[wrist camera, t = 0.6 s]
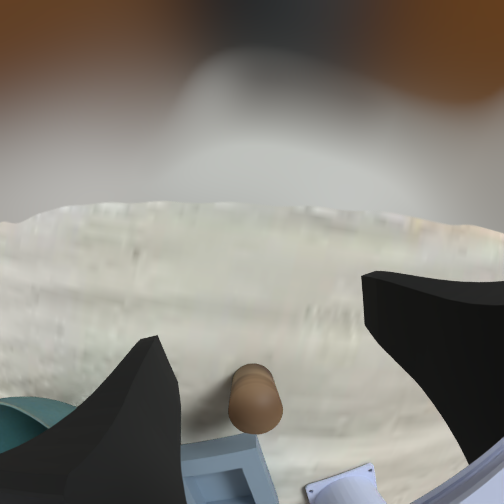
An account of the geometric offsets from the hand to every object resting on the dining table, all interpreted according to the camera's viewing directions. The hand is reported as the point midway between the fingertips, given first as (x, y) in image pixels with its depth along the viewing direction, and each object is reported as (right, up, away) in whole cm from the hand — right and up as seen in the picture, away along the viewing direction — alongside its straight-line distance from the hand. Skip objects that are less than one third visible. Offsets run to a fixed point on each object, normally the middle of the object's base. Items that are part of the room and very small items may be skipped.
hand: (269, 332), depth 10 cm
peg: (0, -10, +19) cm, 21 cm away
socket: (-4, -21, +17) cm, 28 cm away
